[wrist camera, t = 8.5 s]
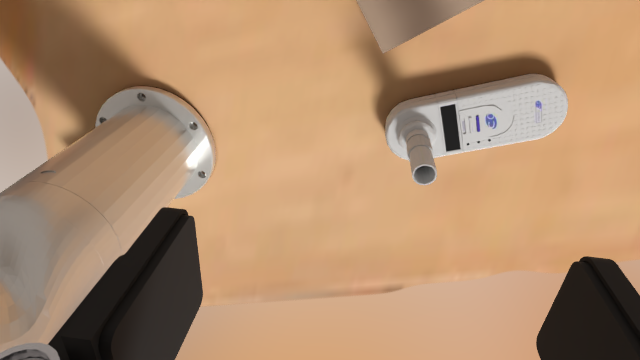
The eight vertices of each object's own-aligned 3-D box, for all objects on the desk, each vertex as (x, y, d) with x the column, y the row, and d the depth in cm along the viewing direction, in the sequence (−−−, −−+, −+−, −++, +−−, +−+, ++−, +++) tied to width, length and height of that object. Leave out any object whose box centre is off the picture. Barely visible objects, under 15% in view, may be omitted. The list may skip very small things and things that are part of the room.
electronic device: (609, 176, 29) (394, 210, 33) (557, 123, 38) (390, 153, 41) (614, 105, 27) (381, 149, 30) (557, 65, 35) (380, 103, 39)
